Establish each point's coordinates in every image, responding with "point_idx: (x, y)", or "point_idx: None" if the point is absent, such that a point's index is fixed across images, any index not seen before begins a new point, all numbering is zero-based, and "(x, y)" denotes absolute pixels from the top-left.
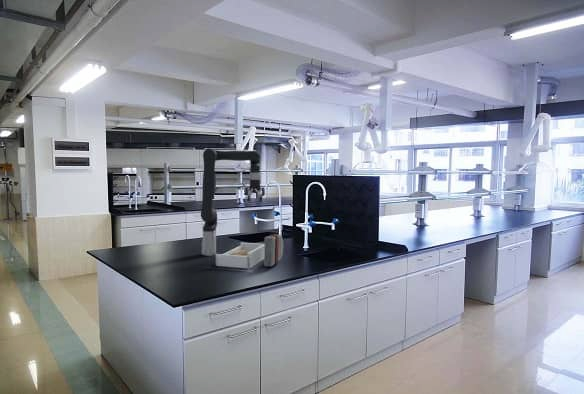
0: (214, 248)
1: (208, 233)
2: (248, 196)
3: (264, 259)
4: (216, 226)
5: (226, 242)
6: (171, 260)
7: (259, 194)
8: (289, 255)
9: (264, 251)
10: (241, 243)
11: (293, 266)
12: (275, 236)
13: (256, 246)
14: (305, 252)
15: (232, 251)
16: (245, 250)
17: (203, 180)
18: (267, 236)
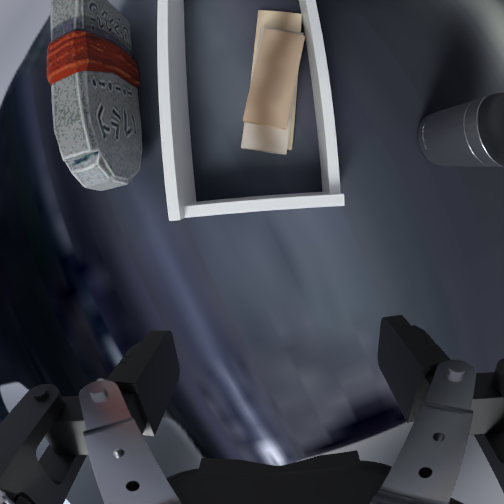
0: (430, 128)
1: (483, 97)
2: (437, 361)
3: (119, 12)
4: (494, 144)
5: None
6: (478, 36)
7: (110, 416)
8: (121, 246)
9: (108, 2)
10: (337, 194)
11: None
12: (50, 44)
13: (249, 199)
14: (96, 315)
15: (317, 75)
16: (274, 124)
17: None
18: (75, 5)
